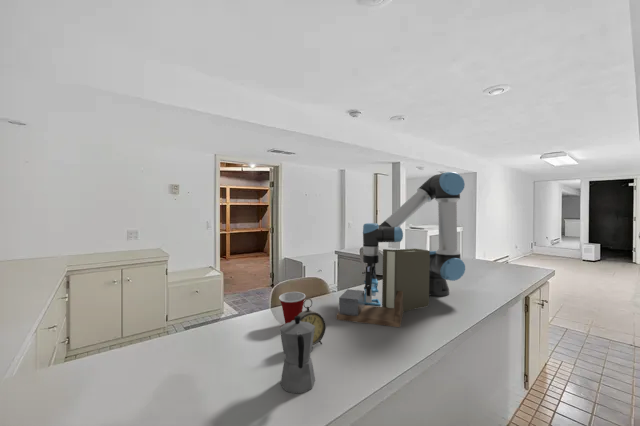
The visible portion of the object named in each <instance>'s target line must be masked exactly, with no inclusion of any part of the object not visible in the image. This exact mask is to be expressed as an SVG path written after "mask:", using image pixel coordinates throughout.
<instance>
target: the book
mask: <svg viewBox="0 0 640 426" xmlns="http://www.w3.org/2000/svg"><path fill="white" fill-rule="evenodd" d="M430 251H431V250H428V249H422V248H405V249H385V248H384V249H382V290H381V292H382V294H381V297H382V299H381V300H382V301H381V307H386V308H394V309H395V299H396V296H397V293H398V291H403V313H404V312H408V311H413V310H417V309H422V308H427V307H429V306H430V295H429V266H430Z"/></svg>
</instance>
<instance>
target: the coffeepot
mask: <svg viewBox="0 0 640 426" xmlns="http://www.w3.org/2000/svg"><path fill="white" fill-rule="evenodd" d="M294 318H295V320H292V321H291V322H290V323H286V324H285V323H283V325H282V326H281V327H280V328H279V332H280V338H281V339H280V340H281V346H282V351H283V354H284V357H285V358H284V361H283V367H282V373H281V379H280V386H281V387H282V389H283V390H284V391H286V392H288V393H291V394H303V393H306V392H309V391H310V390H311V389H312V388H314V385H315V382H316V377H315V371H314V370H315V369H314V366H313V360H312V357H311V353H312V351H313V346H314V345H313V337H314V330H315V326H314V325H312V324H311V323H309V322H302V321H300V316H295V317H294ZM312 345H313V346H312Z"/></svg>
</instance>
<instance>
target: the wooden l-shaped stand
mask: <svg viewBox="0 0 640 426" xmlns="http://www.w3.org/2000/svg"><path fill="white" fill-rule="evenodd" d="M403 314H404V312H403V291H398V293H397V296H396V299H395V309H394V308H386V307H382V306H377V305H367V304H365V306H364V308H363V309H362V311H361V312H360V314H359V315H358V316H350V315H342V314H339V311H338V312H337V314H336V318H335V319H336V321H337V320H339V321H344V322H345V321H346V322H353V323H354V322H355V323H362V324H369V325H370V324H371V325H379V326H386V327H387V326H388V327H396V328H401V324H402V320H403V317H404V316H403Z"/></svg>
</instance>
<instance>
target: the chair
mask: <svg viewBox="0 0 640 426" xmlns="http://www.w3.org/2000/svg"><path fill="white" fill-rule="evenodd" d="M363 282H364V283H365V280H363ZM372 284H374V287H371V289H372V293H375V292H376V293H379V289H378V285H379V281H378V279H377V278H376V279H372ZM363 289H364V288H363ZM363 291H364V304H365V305H368V306H377V307H381V306H382V303H381V301H380V300H379V299H378V298H374V299H373V298H372V303H368V302H366V289H364V290H363Z"/></svg>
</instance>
